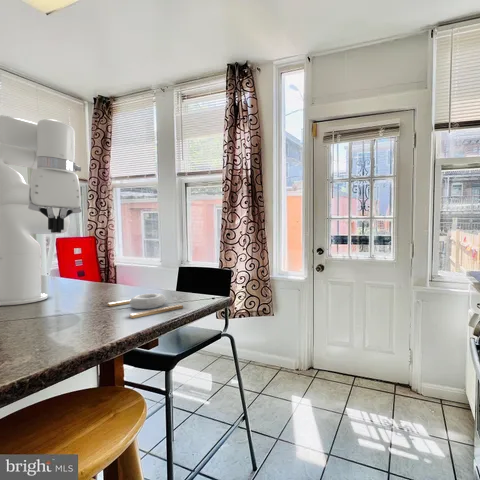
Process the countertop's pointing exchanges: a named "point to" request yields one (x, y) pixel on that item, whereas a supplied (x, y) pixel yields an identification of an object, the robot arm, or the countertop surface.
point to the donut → (147, 301)
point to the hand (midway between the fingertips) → (56, 232)
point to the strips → (145, 311)
